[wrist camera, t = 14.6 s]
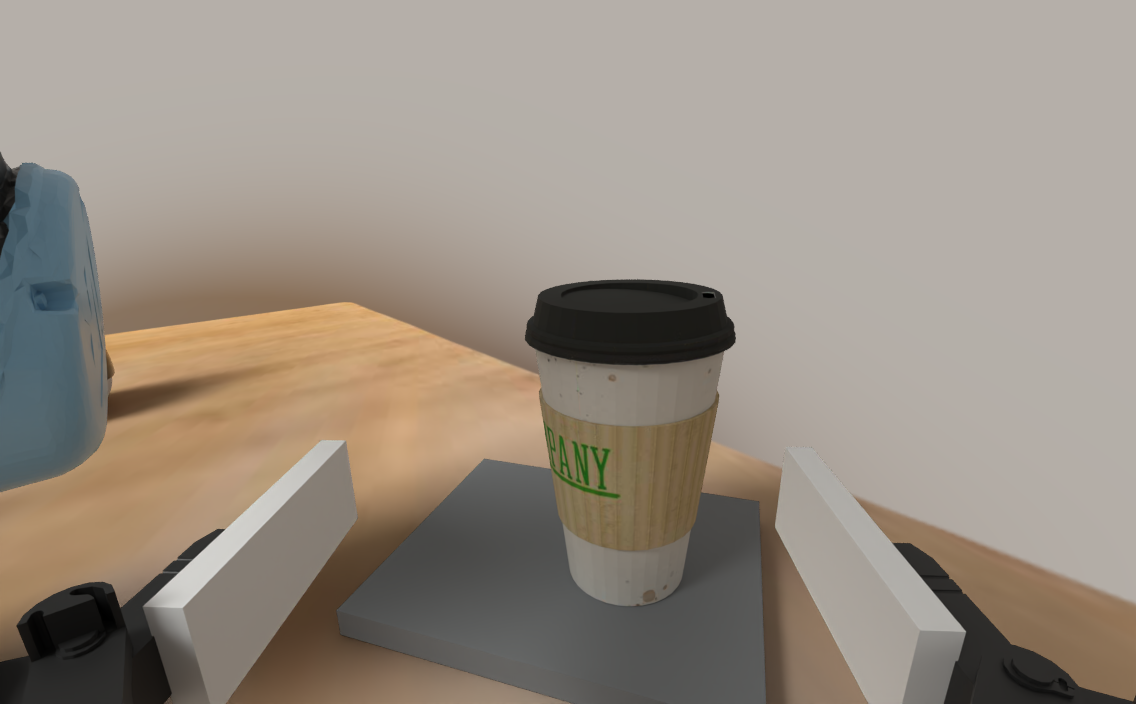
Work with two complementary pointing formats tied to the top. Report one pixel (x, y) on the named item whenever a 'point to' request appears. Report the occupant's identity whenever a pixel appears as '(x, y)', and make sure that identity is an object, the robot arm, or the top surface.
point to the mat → (567, 601)
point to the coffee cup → (628, 424)
